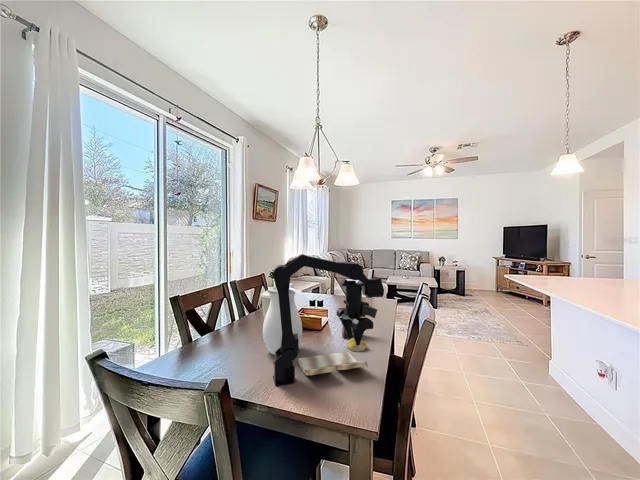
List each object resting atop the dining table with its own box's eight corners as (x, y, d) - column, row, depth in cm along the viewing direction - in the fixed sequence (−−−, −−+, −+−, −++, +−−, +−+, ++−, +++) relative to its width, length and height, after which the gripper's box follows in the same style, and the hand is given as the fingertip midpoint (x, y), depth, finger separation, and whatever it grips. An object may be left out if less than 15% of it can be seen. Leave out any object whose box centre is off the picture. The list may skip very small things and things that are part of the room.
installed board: (304, 374, 102) (304, 369, 102) (298, 362, 112) (298, 358, 112) (357, 365, 109) (357, 361, 109) (347, 355, 118) (347, 351, 118)
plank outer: (344, 369, 98) (343, 365, 99) (336, 370, 105) (336, 365, 106) (367, 365, 101) (366, 361, 101) (358, 366, 108) (358, 362, 108)
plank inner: (310, 375, 94) (310, 370, 95) (305, 375, 101) (304, 370, 102) (336, 371, 97) (335, 366, 98) (329, 371, 104) (328, 366, 105)
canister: (253, 323, 162) (253, 286, 161) (276, 316, 176) (276, 282, 176) (276, 329, 151) (275, 290, 150) (298, 321, 165) (298, 285, 165)
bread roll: (361, 343, 132) (361, 334, 131) (368, 351, 123) (368, 341, 123) (344, 345, 130) (343, 336, 130) (350, 352, 121) (350, 343, 121)
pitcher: (296, 361, 113) (295, 291, 113) (256, 357, 116) (255, 289, 116) (310, 339, 137) (309, 281, 136) (276, 337, 140) (276, 280, 139)
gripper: (387, 302, 94) (387, 349, 95) (362, 291, 112) (362, 331, 112) (357, 304, 91) (357, 353, 91) (336, 293, 109) (336, 334, 109)
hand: (353, 341), depth 101 cm, fingers open, 6 cm apart
